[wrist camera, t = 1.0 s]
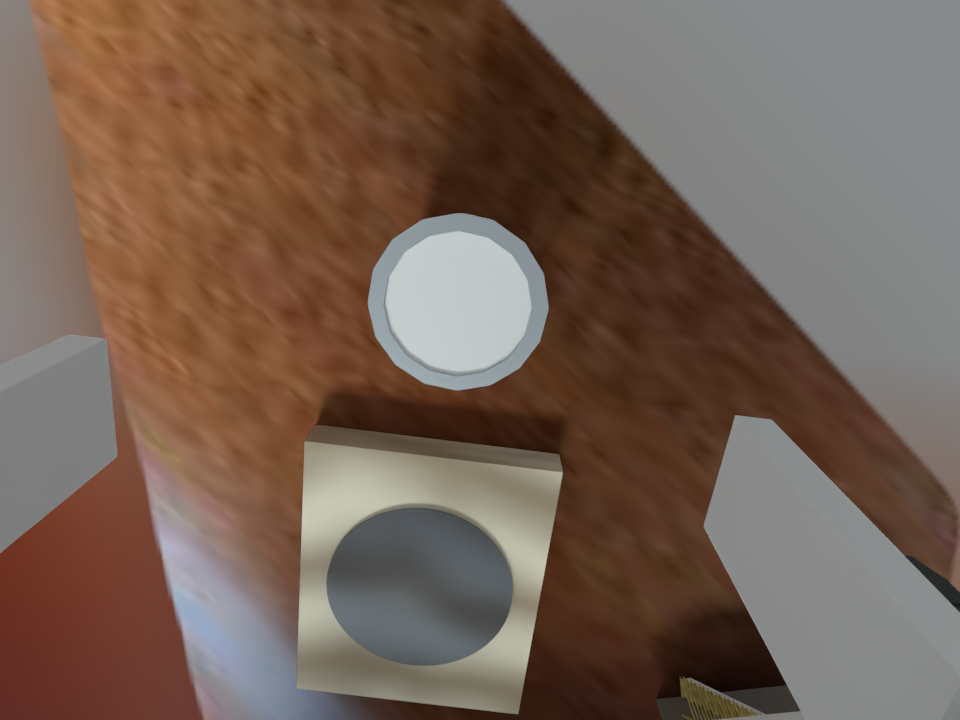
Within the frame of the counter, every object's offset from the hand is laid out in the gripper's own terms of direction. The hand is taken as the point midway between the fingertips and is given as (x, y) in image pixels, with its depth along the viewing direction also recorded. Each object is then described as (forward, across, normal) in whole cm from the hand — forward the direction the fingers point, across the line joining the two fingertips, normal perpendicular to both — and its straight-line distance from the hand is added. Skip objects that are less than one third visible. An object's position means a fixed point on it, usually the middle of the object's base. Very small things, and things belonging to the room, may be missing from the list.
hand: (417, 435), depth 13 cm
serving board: (+17, 0, +17) cm, 24 cm away
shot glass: (+18, 0, 0) cm, 18 cm away
